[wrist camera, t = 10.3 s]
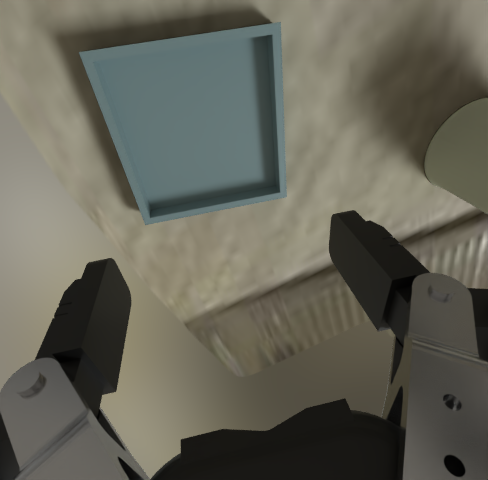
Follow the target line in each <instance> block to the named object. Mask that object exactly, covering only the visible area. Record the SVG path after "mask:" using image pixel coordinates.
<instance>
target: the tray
mask: <svg viewBox="0 0 488 480" xmlns="http://www.w3.org/2000/svg"><path fill="white" fill-rule="evenodd" d="M79 54H80V57H81V59H82V62H83V65H84V67H85V70H86V72H87V75H88V78H89V80H90V83H91V85H92V88H93V90H94V93H95V96H96V98H97V101H98V103H99V106H100V109H101V111H102V114H103V116H104V119H105V122H106V124H107V127H108V129H109V132H110V135H111V137H112V140H113V142H114V145H115V147H116V150H117V153H118V155H119V158H120V160H121V163H122V166H123V168H124V171H125V173H126V176H127V179H128V181H129V184H130V186H131V189H132V191H133V194H134V197H135V199H136V202H137V204H138V207H139V210H140V212H141V215H142V217H143V220H144V223H145V225H148V224H153V223H158V222H163V221H168V220H173V219H178V218H183V217H188V216H193V215H198V214H203V213H208V212H213V211H219V210H224V209H229V208H234V207H239V206H244V205H249V204H254V203H259V202H264V201H269V200H274V199H279V198H284V197H287V192H286V163H285V134H284V105H283V76H282V48H281V22H277V23H269V24H263V25H256V26H249V27H243V28H236V29H229V30H222V31H216V32H209V33H202V34H196V35H189V36H182V37H176V38H169V39H162V40H155V41H149V42H142V43H135V44H129V45H122V46H115V47H109V48H102V49H95V50H88V51H83V52H79Z"/></svg>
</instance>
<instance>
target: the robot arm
mask: <svg viewBox="0 0 488 480" xmlns="http://www.w3.org/2000/svg"><path fill="white" fill-rule="evenodd" d="M329 253H330V257H331V259H332V262H333V263H334V265H335V266H336V268H337V269H338V271H339V273H340V274H341V276H342V277H343V279H344V280H345V282H346V283H347V285H348V286H349V288H350V289H351V291H352V292H353V294H354V295H355V297H356V298H357V300H358V301H359V303H360V305H361V306H362V308H363V309H364V311H365V312H366V314H367V315H368V317H369V318H370V320H371V321H372V323H373V324H374V326H375V327H376V329H377V330H378V331H382V330H387V329H391V330H392V331H393V332H394V334H395V337H394V341H393V348H392V356H391V364H390V372H389V380H388V389H387V395H386V399H385V403H384V407H383V413H382V418H381V417H378V416H376V415H373V414H370V413H366V412H361V411H355V410H350V408H349V406H348V404H347V402H346V399H341V400H337V401H333V402H330V403H325V404H322V405H317V406H313V407H310V408H306V409H304V410H303V411H301V412H299V413H297V414H296V415H294V416H292V417H291V418H289V419H287V420H286V421H284V422H282V423H281V424H279V425H277V426H276V427H274V428H272V429H270V430H268V431H251V430H250V431H249V430H229V429H221V430H218V431H213V432H209V433H205V434H201V435H197V436H193V437H189V438H185V439H181V453H180V454H178V455H177V456H175V457H174V458H173V459H171V460H170V461H168V462H167V463H166V464H165V465H164V466H163V467H162V468H161V469H159V471H157V472H156V474H155V475H154V476H153V477H152V478H151V479H149V477H148V476H147V475H146V473H145V472H144V470H143V469H142V468H141V466H140V465H139V464H138V463H137V461H136V460H135V459H134V458H133V456H132V455H131V453H130V452H129V450H128V449H127V447H126V446H125V444H124V443H123V441H122V439H121V438H120V436H119V435H118V433H117V432H116V430H115V429H114V427H113V426H112V424H111V423H110V421H109V419H108V418H107V416H106V415H105V413H104V412H103V410H102V409H101V408H100V403H101V398H102V395H104V394H108V393H112V392H116V390H117V384H118V378H119V372H120V367H121V361H122V355H123V349H124V343H125V337H126V331H127V326H128V320H129V315H130V308H131V294H130V291H129V288H128V286H127V284H126V282H125V280H124V278H123V276H122V274H121V272H120V270H119V268H118V266H117V264H116V262H115V261H114V260H113V259H112V258H108V259H104V260H98V261H94V262H89V263H88V264H87V265H86V268H85V270H84V273H83V275H82V278H81V279H77V280H75V281H74V282H73V283H72V284H71V285H70V286H69V287H68V289H67V290H66V291H65V292H64V294H63V296H62V299H61V301H60V303H59V307H58V308H57V310H56V312H55V315H54V318H53V319H52V322H51V324H50V326H49V329H48V331H47V333H46V336H45V338H44V340H43V342H42V345H41V347H40V349H39V351H38V354H37V356H36V359H35V360H34V361H32V362H30V363H28V364H26V365H25V366H23V367H21V368H20V369H19V370H18V371H16V373H14V374H13V375H12V376H11V377H10V378H9V379H8V381H7V382H6V383H5V385H4V386H3V388H2V390H1V392H0V480H488V289H475V288H467V287H466V286H464V285H463V284H462V283H461V282H459V281H458V280H456V279H454V278H452V277H450V276H447V275H443V274H438V273H430V272H429V271H428V270H427V269H426V268H425V267H424V266H423V265H422V264H421V263H420V262H419V261H418V260H417V259H416V258H415V257H414V256H413V255H412V254H411V253H410V252H409V251H407V250H406V249H405V248H404V247H403V246H402V245H400V243H399V242H398V241H397V240H396V239H395V238H393V236H392V235H391V234H390V233H389V232H388V231H387V230H386V229H385V228H384V227H382V226H380V225H378V224H376V223H374V222H372V221H365V220H364V219H363V218H362V217H361V216H360V215H359V214H358V213H357V212H356V211H354V210H352V211H347V212H342V213H337V214H333V215H332V218H331V227H330V240H329Z"/></svg>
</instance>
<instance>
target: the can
mask: <svg viewBox="0 0 488 480" xmlns="http://www.w3.org/2000/svg"><path fill="white" fill-rule="evenodd" d="M424 168H425V173H426V176H427V178H428V180H429V181H430V182H431V183H432V184H433V185H435V186H437V187H440V188H443V189H445V190H447V191H449V192H450V193H452V194H454V195H456V196H457V197H459V198H461V199H463V200H464V201H466V202H468V203H470V204H471V205H473V206H475V207H476V208H478V209H480V210H481V211H483V212H485V213H486V214H488V98H483V99H479V100H476V101H473V102H471V103H469V104H467V105H465V106H463V107H462V108H460V109H459V110H458V111H456V112H455V113H454V114H453V115H451V116H450V117H449V118H448V119H447V120H446V121H445V122H444V123H443V124H442V126H441V127H440V128H439V129H438V131H437V132H436V134H435V135H434V137H433V139H432V140H431V142H430V144H429V147H428V149H427V152H426V156H425V162H424Z"/></svg>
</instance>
